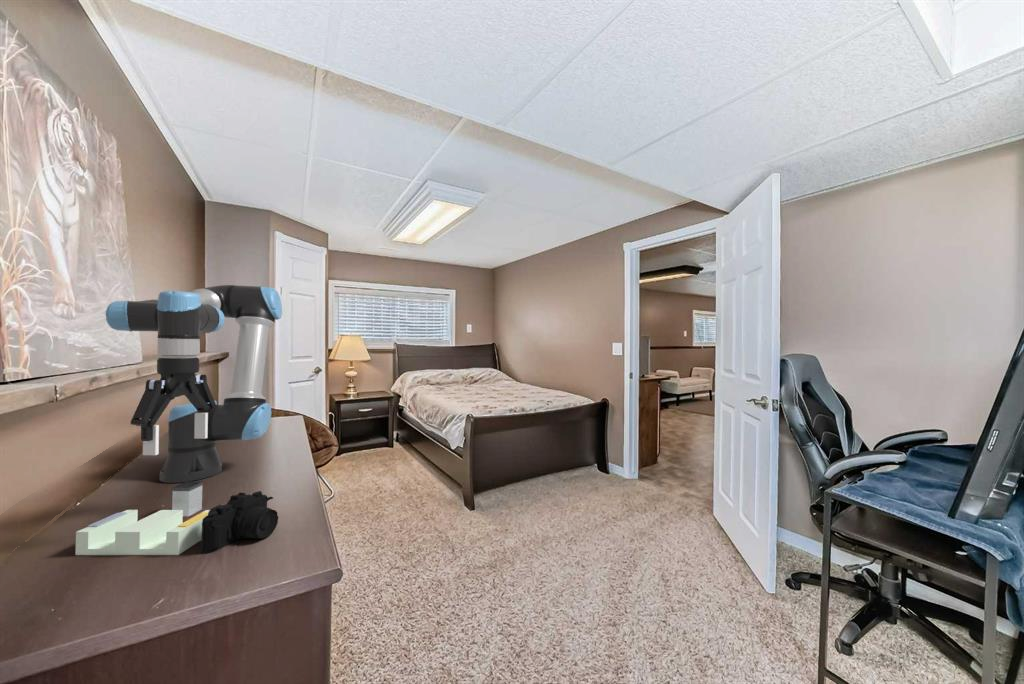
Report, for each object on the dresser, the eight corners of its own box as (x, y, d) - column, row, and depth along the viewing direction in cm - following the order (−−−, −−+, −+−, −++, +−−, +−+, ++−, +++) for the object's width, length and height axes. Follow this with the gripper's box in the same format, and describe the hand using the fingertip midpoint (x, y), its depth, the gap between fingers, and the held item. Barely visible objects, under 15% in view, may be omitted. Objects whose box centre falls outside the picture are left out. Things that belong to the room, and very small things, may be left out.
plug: (185, 509, 95) (186, 481, 95) (202, 509, 95) (203, 481, 95) (171, 516, 91) (171, 487, 91) (188, 516, 91) (189, 487, 91)
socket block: (126, 530, 84) (126, 508, 84) (216, 530, 84) (217, 508, 84) (75, 555, 74) (76, 530, 74) (178, 555, 74) (178, 530, 74)
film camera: (232, 559, 73) (233, 514, 73) (193, 553, 75) (194, 508, 75) (292, 524, 88) (293, 486, 88) (258, 519, 90) (259, 482, 90)
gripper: (204, 354, 101) (203, 432, 101) (106, 359, 76) (105, 463, 76) (233, 354, 101) (231, 432, 101) (144, 360, 76) (143, 463, 76)
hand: (177, 446), depth 88 cm, fingers open, 13 cm apart
